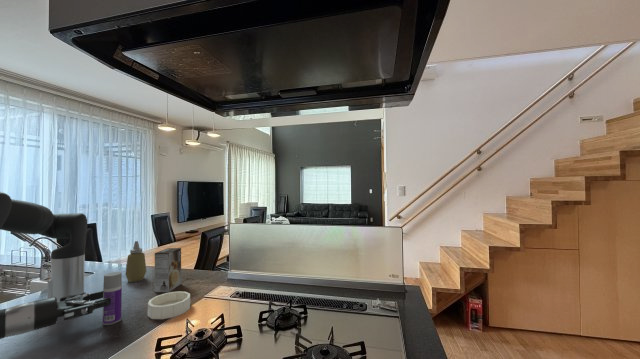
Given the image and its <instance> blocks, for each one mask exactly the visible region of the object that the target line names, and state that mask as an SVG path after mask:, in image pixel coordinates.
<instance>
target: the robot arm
mask: <svg viewBox="0 0 640 359" xmlns="http://www.w3.org/2000/svg"><path fill="white" fill-rule="evenodd" d="M0 231H5V232H10V233H16V234H22V235H23V234H24V235H40V236H42V237H47V238H50V239H56V240H57V239H60V240H61V239H70V240H69V243H67V244H66V245H63V246H61V247H57V248H55V249H53V250H52V251H51V252H50V253H51V254H50V279H49V280H48V281H47V292H46V293H47V294H46V296H47V297H46V298H43V299H38V300H35V301H30V302H25V303H20V304H16V305H14V306H11V307H7V308H3V309H0V340H1V339H5V338H9V337H14V336H15V337H16V336H19V335H24V334H27V333H30V332H34V331H37V330H40V329H44V328H47V327H52V326H55V325H56V324H57V322H58V318H61V317H63V321H68V320H72V319H75V318H80V317H83V316H88V315H92V314H93V313H94V311H95V310H98V309H100V308H103V307H105V306H109V305H110V304H111V298H105V299H103V290H99V291H96V292H92V293H89V292H86V291H85V266H86V264H85V262H86V261H85V260H86V258H85V257H86V255H85V254H86V246H87V233H88V232H87V231H88V218H87V216H86V215H85V213H79V212H77V213H73V212H72V213H53V212H52V211H51V209H50V208H48V207H47V206H44V205H41V204H38V203H34V202H30V201H25V200H21V199H12V197H11V196H10V195H9V194H8V193H5V192H3V191H0Z"/></svg>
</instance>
